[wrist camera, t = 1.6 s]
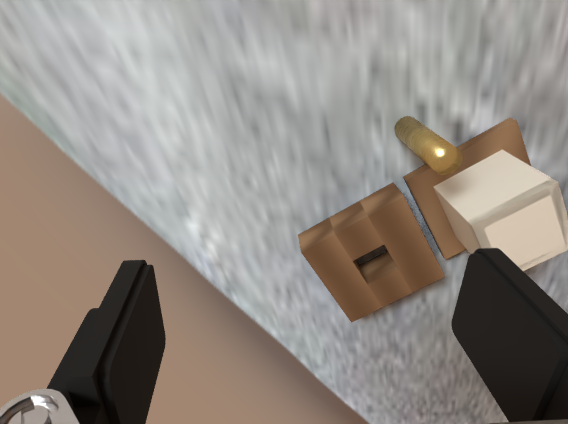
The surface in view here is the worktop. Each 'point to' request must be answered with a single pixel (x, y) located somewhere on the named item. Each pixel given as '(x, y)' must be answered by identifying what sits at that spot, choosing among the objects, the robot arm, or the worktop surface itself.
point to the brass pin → (428, 146)
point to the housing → (506, 209)
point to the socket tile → (363, 239)
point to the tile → (472, 153)
